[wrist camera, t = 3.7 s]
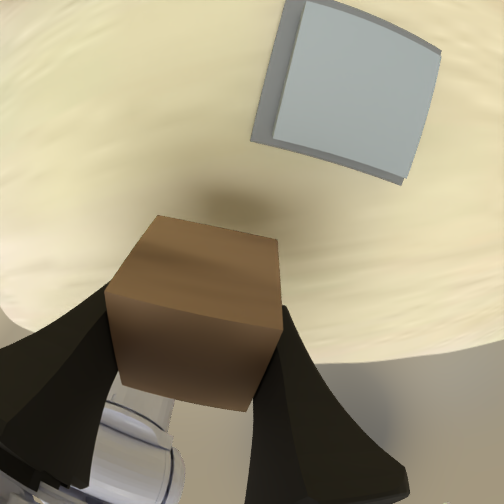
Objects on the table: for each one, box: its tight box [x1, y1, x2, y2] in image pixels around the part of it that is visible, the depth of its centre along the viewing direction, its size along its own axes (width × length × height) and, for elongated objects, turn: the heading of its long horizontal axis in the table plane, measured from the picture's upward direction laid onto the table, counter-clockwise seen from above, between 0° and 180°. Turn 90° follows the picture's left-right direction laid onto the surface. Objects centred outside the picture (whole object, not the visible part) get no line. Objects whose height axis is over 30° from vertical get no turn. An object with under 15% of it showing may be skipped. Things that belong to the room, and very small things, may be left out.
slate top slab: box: [272, 1, 441, 179], centre depth 12 cm, size 7×7×2 cm
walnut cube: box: [104, 215, 283, 412], centre depth 10 cm, size 4×4×4 cm
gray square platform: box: [250, 0, 442, 186], centre depth 13 cm, size 9×9×2 cm
